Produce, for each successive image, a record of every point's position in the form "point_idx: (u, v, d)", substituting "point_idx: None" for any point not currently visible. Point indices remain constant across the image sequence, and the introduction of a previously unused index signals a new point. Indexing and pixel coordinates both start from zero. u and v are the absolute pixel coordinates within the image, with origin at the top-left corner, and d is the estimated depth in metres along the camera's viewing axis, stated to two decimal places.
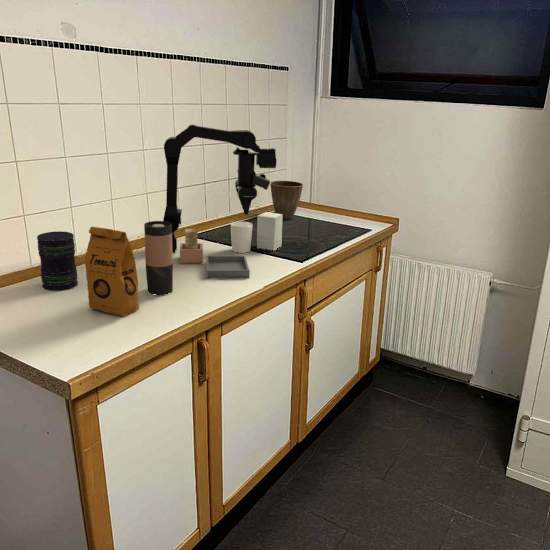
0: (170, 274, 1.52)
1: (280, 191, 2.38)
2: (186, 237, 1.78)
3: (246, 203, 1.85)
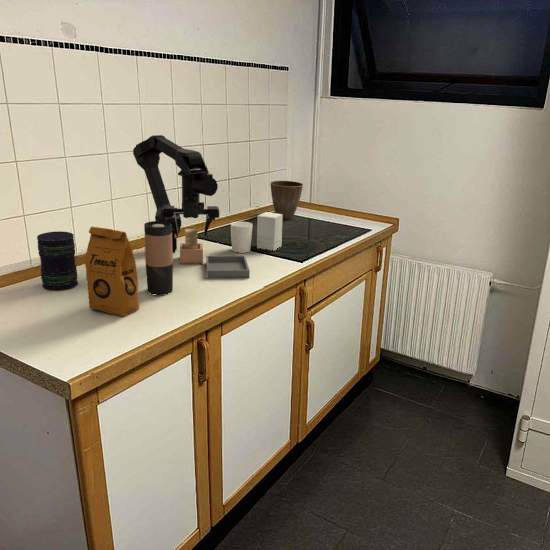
0: (170, 274, 1.52)
1: (280, 191, 2.38)
2: (186, 237, 1.78)
3: None
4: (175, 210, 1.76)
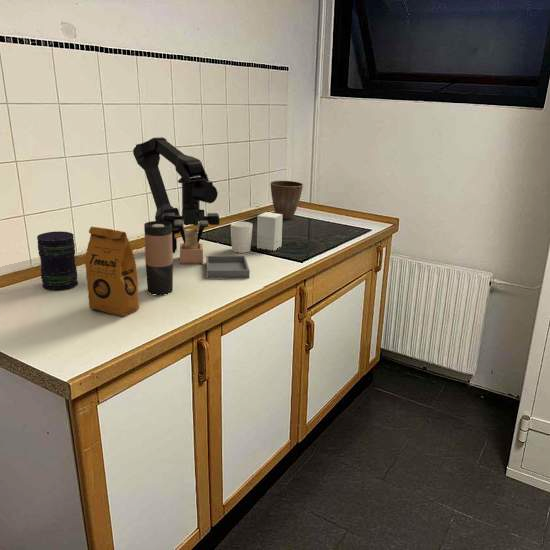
0: (170, 274, 1.52)
1: (280, 191, 2.38)
2: (186, 237, 1.78)
3: None
4: (175, 217, 1.77)
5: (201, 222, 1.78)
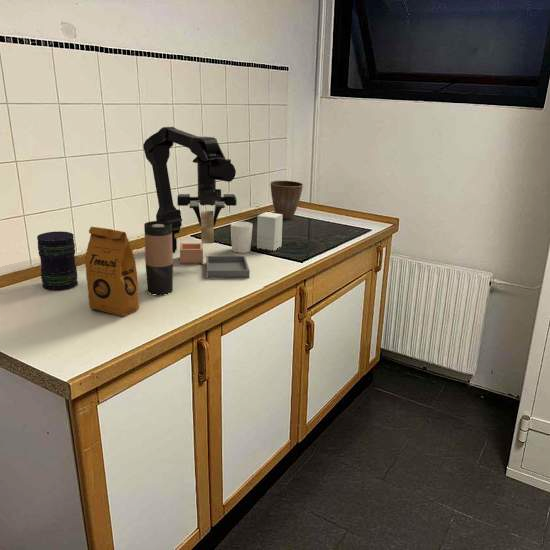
0: (170, 274, 1.52)
1: (280, 191, 2.38)
2: (202, 219, 1.72)
3: None
4: (191, 198, 1.71)
5: (217, 203, 1.72)
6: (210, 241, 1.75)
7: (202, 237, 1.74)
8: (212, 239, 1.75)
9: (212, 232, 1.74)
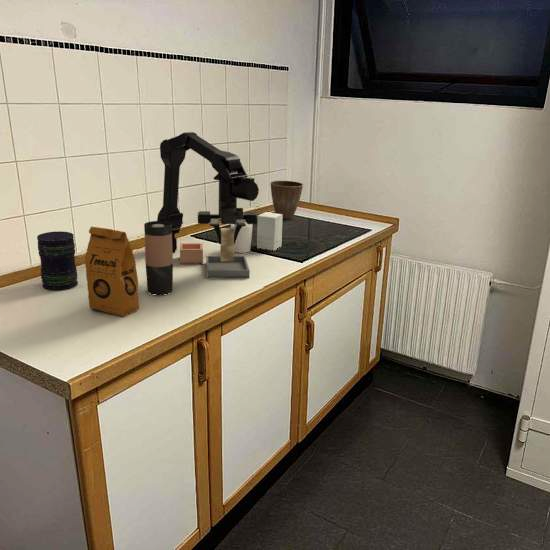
0: (170, 274, 1.52)
1: (281, 191, 2.38)
2: (222, 237, 1.69)
3: None
4: (211, 216, 1.68)
5: (238, 221, 1.69)
6: (230, 259, 1.72)
7: (222, 255, 1.71)
8: (232, 257, 1.72)
9: (232, 250, 1.71)
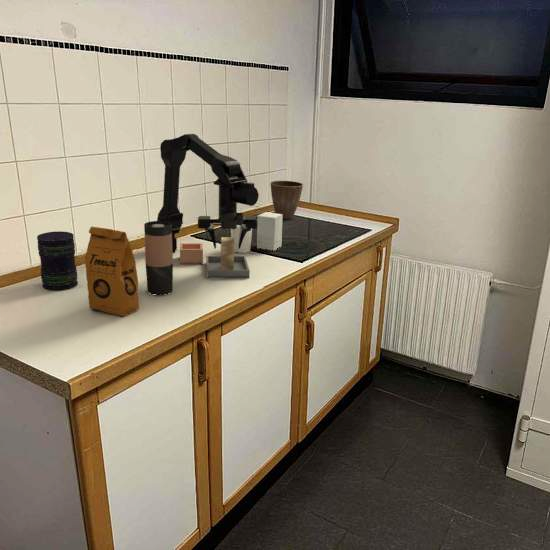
0: (170, 274, 1.52)
1: (280, 191, 2.38)
2: (222, 246, 1.70)
3: None
4: (211, 221, 1.68)
5: (243, 226, 1.70)
6: (230, 268, 1.73)
7: (222, 264, 1.72)
8: (232, 266, 1.73)
9: (232, 259, 1.72)
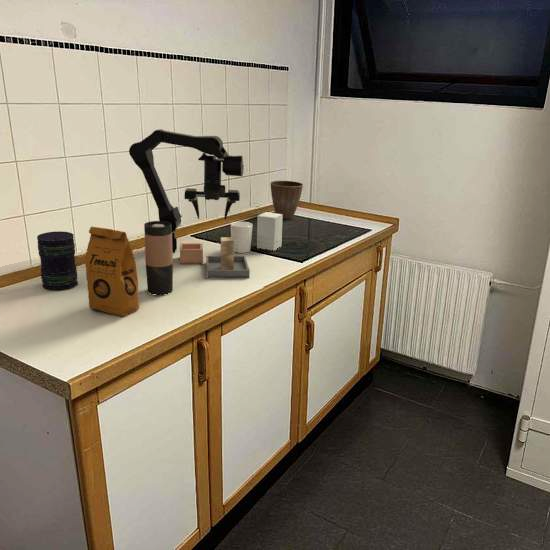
0: (170, 274, 1.52)
1: (280, 191, 2.38)
2: (222, 246, 1.70)
3: None
4: (197, 193, 1.83)
5: None
6: (230, 268, 1.73)
7: (222, 264, 1.72)
8: (232, 266, 1.73)
9: (232, 259, 1.72)
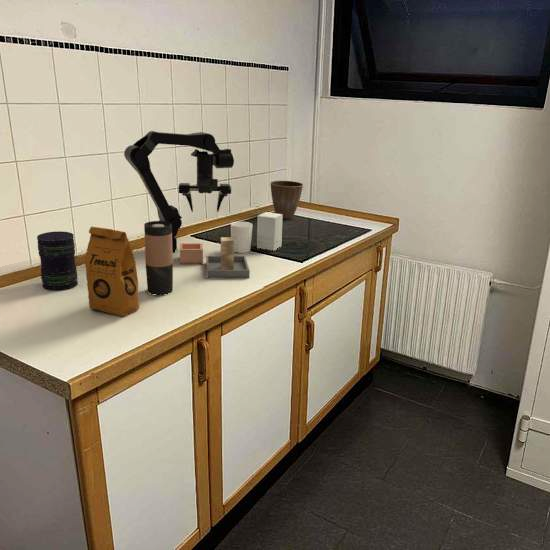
0: (170, 274, 1.52)
1: (280, 191, 2.38)
2: (222, 246, 1.70)
3: None
4: (190, 187, 1.92)
5: None
6: (230, 268, 1.73)
7: (222, 264, 1.72)
8: (232, 266, 1.73)
9: (232, 259, 1.72)
